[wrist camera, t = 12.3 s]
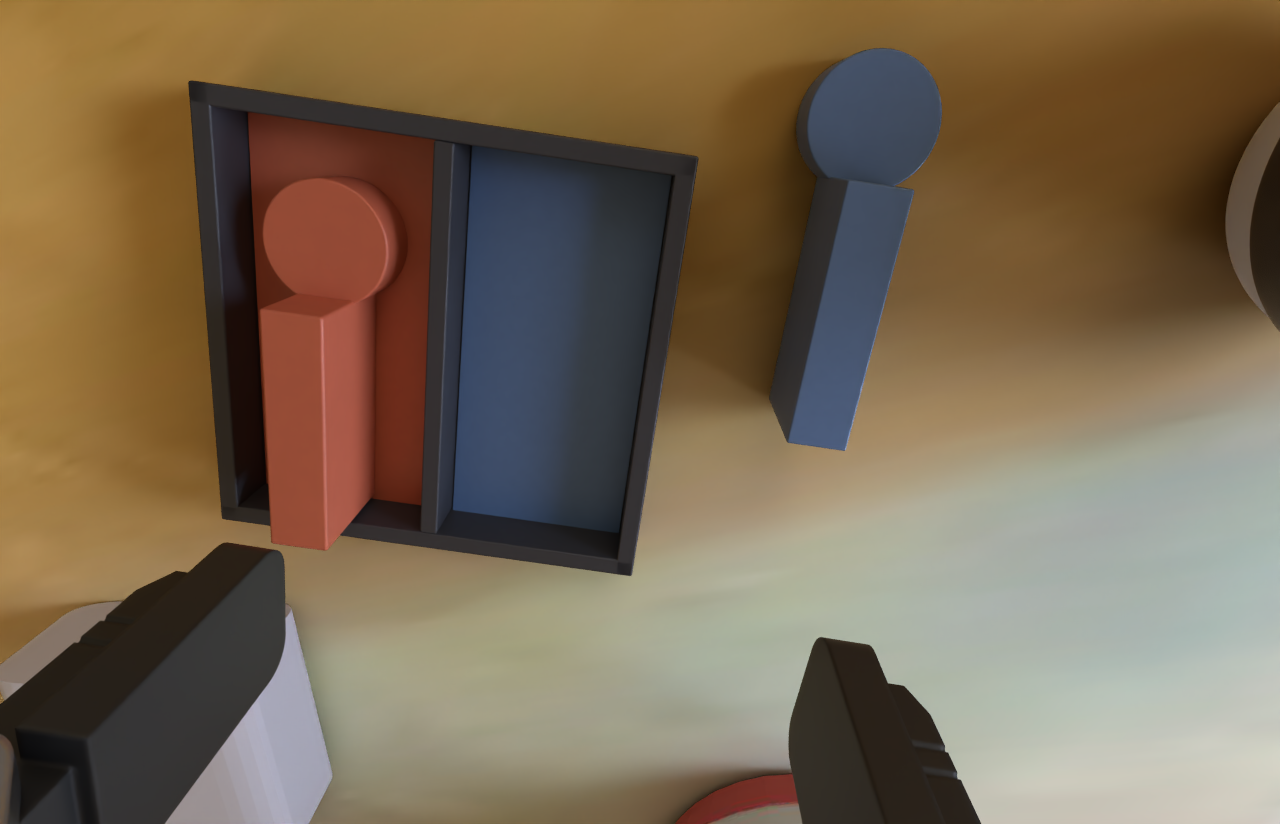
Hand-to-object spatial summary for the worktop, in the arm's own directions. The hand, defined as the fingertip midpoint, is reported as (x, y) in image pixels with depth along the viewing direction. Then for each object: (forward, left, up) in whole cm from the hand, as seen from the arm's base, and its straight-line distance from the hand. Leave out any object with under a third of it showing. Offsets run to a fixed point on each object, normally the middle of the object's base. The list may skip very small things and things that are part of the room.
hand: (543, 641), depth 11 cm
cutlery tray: (0, -6, -15) cm, 16 cm away
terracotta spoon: (+1, -9, -14) cm, 17 cm away
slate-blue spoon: (-5, +6, -15) cm, 17 cm away
